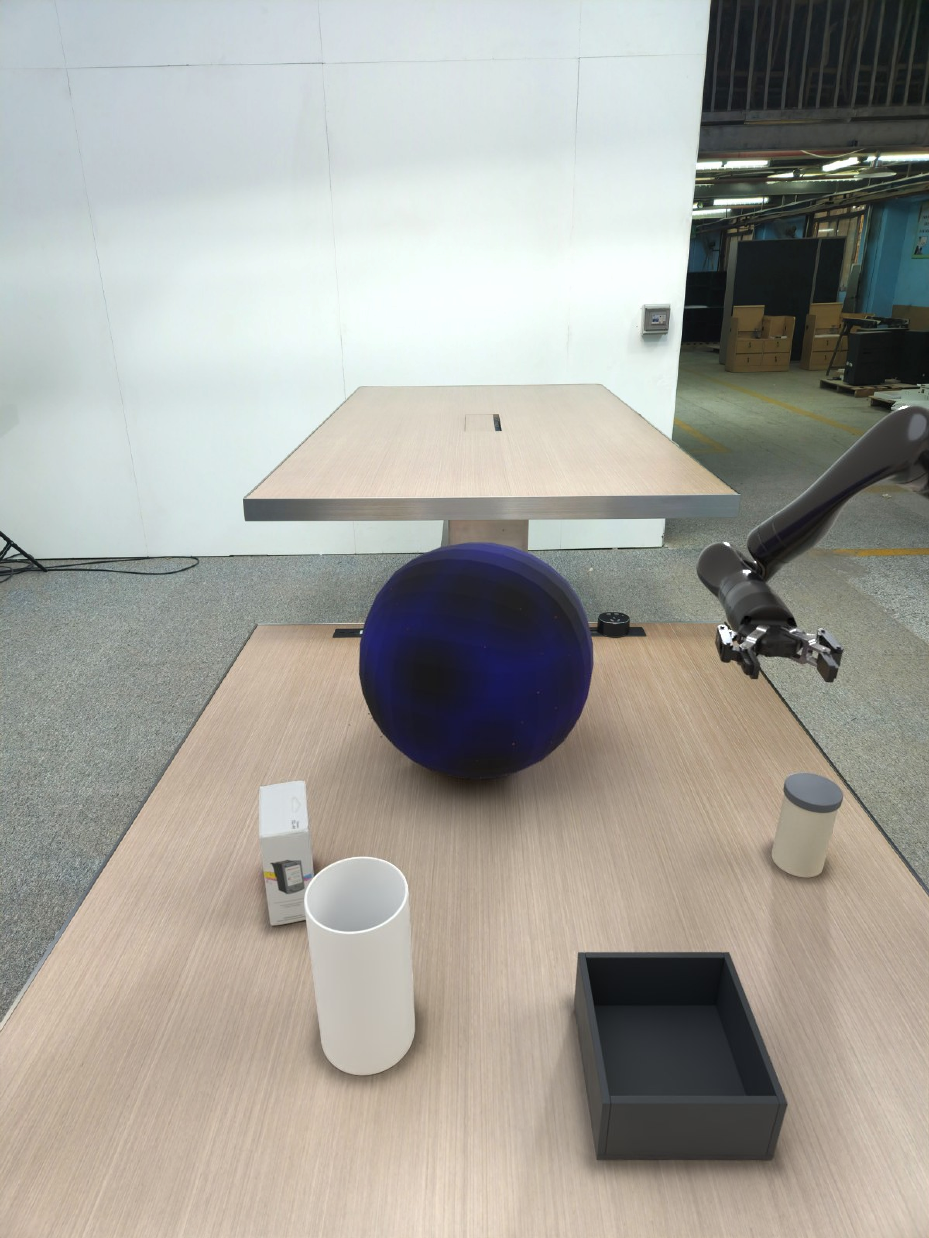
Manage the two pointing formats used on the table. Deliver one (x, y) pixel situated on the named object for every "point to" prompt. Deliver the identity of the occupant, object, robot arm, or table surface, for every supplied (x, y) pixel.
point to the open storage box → (674, 1059)
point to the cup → (361, 963)
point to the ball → (476, 660)
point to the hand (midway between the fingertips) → (794, 674)
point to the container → (806, 823)
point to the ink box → (285, 849)
